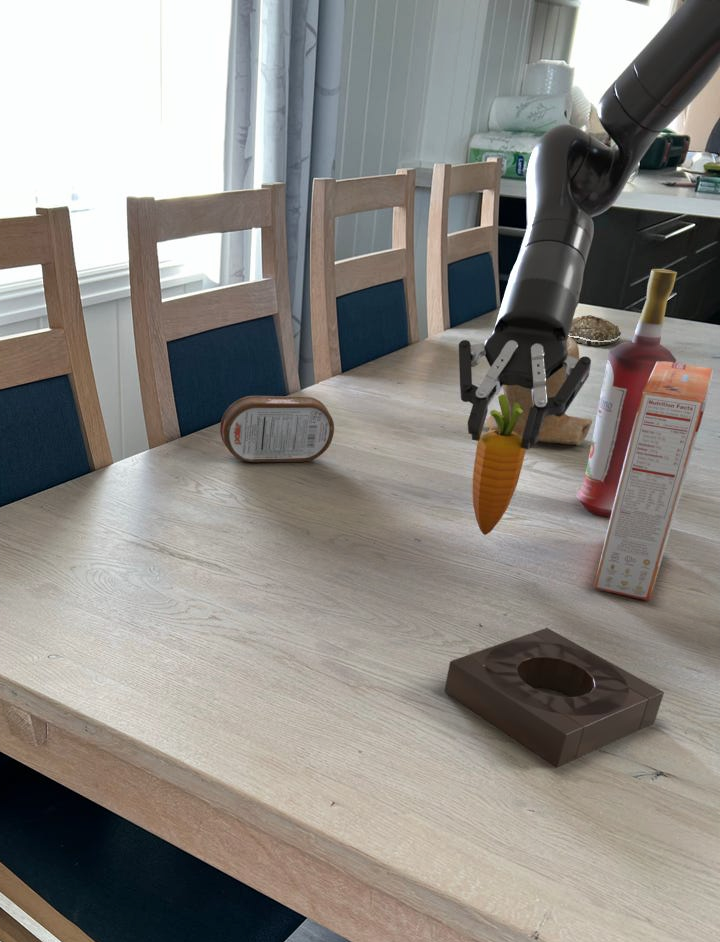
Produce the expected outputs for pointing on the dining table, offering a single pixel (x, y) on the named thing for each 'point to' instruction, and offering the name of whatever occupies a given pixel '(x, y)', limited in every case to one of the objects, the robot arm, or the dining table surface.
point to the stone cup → (552, 426)
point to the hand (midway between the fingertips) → (500, 440)
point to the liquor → (625, 396)
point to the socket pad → (548, 716)
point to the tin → (277, 429)
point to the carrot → (497, 467)
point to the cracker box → (652, 478)
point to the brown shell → (593, 330)
